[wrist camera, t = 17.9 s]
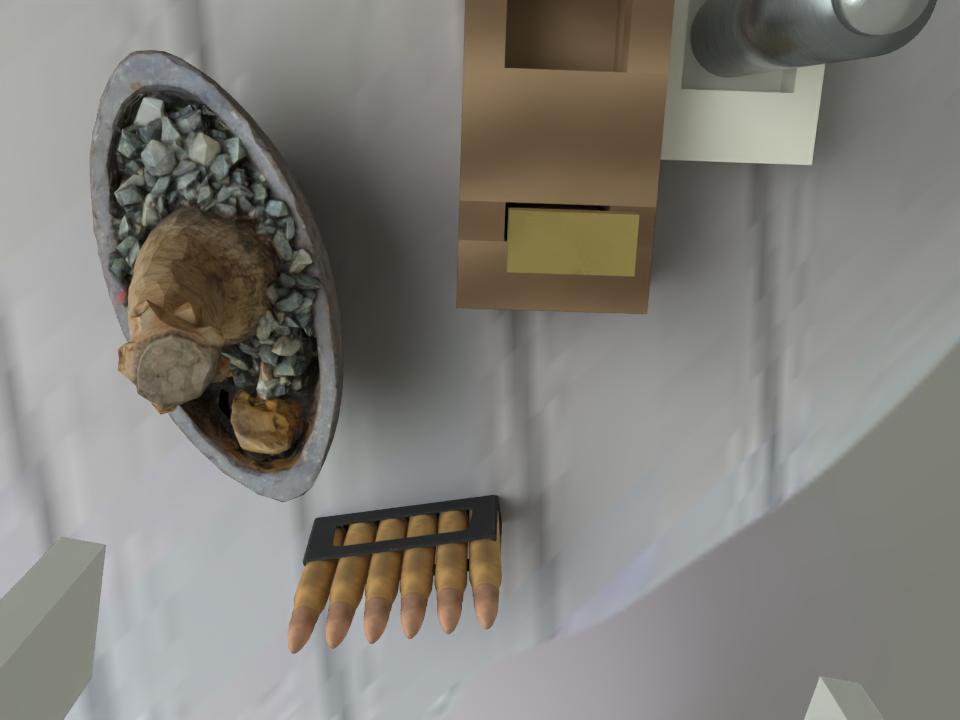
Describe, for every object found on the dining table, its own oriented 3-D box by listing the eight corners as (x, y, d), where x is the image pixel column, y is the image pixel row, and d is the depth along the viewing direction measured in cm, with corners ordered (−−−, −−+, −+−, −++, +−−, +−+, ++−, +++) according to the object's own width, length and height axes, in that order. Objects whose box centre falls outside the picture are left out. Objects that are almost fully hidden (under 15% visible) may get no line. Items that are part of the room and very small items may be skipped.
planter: (320, 450, 50) (224, 662, 30) (54, 283, 47) (-236, 400, 28) (470, 234, 46) (469, 319, 27) (194, 42, 44) (-24, -16, 24)
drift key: (501, 188, 43) (509, 210, 34) (602, 192, 43) (639, 214, 34) (499, 237, 44) (506, 272, 34) (598, 241, 44) (634, 276, 34)
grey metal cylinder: (694, -12, 42) (831, -90, 26) (777, -8, 42) (964, -85, 26) (686, 76, 43) (812, 52, 27) (766, 79, 43) (940, 57, 27)
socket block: (469, -85, 42) (468, -117, 36) (655, -77, 42) (684, -108, 37) (458, 284, 47) (456, 307, 41) (625, 289, 47) (646, 314, 41)
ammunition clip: (497, 494, 50) (505, 606, 39) (501, 523, 51) (510, 643, 39) (314, 518, 51) (267, 636, 39) (320, 547, 51) (276, 672, 40)
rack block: (657, -100, 42) (670, -116, 39) (822, -94, 42) (848, -109, 39) (636, 156, 45) (647, 159, 42) (790, 162, 46) (811, 165, 43)
